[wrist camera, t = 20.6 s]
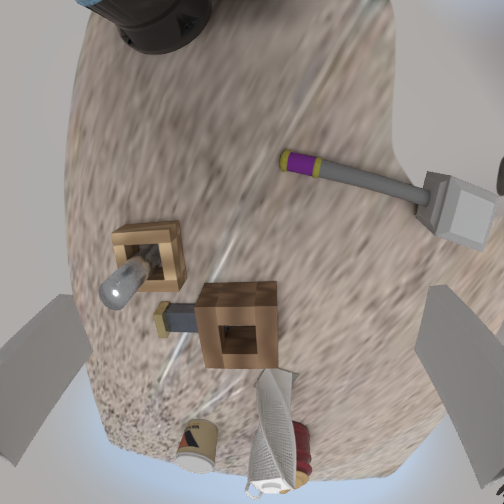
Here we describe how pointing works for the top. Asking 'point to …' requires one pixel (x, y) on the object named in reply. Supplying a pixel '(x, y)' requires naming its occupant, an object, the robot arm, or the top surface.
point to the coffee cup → (198, 447)
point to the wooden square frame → (170, 253)
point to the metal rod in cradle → (129, 277)
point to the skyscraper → (273, 435)
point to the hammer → (417, 197)
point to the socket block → (238, 313)
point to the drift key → (176, 319)
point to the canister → (301, 456)
